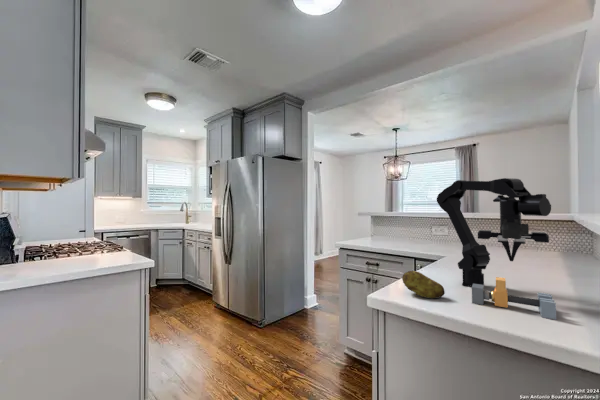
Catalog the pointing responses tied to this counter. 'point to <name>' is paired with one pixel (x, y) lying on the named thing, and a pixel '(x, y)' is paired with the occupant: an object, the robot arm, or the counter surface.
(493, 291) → the band
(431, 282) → the potato
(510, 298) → the black rod
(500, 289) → the sleeve
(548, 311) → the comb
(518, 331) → the counter surface
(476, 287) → the connector
